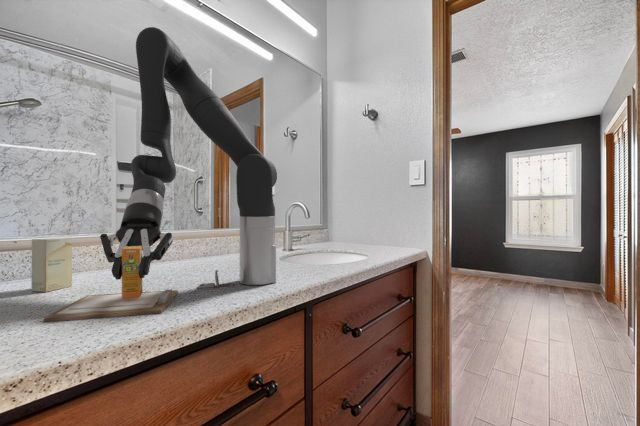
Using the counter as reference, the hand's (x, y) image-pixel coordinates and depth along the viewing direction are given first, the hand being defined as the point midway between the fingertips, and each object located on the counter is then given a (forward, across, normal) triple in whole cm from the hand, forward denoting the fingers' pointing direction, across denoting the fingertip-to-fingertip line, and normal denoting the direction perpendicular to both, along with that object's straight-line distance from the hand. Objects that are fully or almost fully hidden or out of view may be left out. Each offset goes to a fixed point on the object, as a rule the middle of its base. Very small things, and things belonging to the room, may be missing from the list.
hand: (129, 276), depth 58 cm
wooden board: (+3, -2, +6) cm, 7 cm away
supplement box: (+2, 0, +5) cm, 5 cm away
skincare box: (-11, -21, +20) cm, 31 cm away
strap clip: (-3, +16, +13) cm, 21 cm away
